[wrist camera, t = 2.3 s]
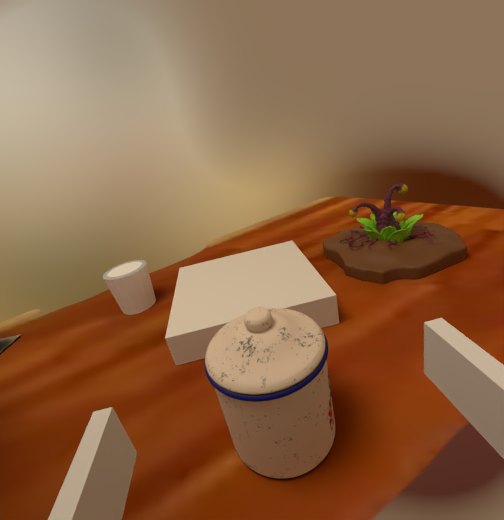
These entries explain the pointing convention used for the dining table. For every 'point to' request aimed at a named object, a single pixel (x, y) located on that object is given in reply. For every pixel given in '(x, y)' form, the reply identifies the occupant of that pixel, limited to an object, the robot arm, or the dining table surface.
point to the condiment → (6, 342)
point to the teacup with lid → (274, 390)
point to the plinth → (243, 295)
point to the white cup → (131, 286)
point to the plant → (393, 245)
